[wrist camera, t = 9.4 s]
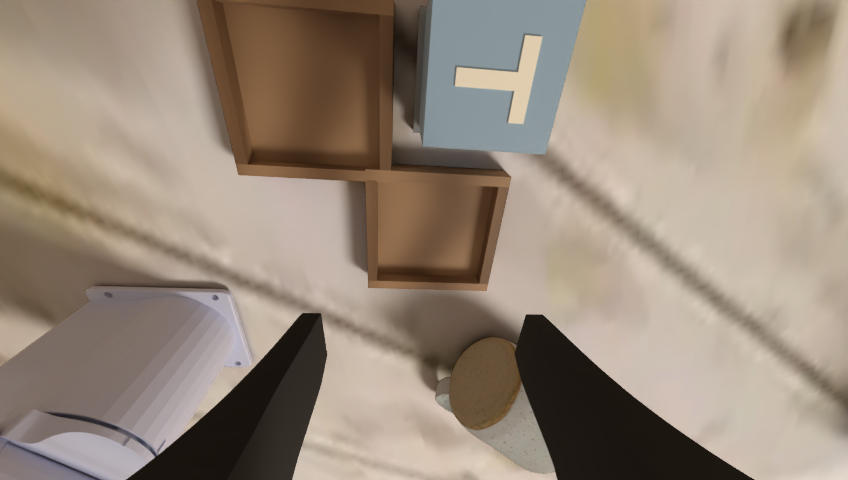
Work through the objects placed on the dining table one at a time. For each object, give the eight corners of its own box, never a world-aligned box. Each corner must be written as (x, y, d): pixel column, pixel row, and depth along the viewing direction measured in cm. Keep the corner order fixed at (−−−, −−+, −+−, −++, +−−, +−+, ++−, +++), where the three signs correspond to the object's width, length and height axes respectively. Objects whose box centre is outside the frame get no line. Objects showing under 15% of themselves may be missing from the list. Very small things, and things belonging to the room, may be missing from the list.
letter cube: (418, 125, 16) (422, 146, 12) (425, 9, 14) (434, -20, 9) (509, 131, 17) (545, 154, 12) (532, 19, 14) (588, -3, 10)
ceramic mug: (501, 313, 24) (535, 407, 18) (559, 357, 27) (606, 452, 21) (413, 376, 28) (413, 474, 21) (472, 409, 31) (488, 504, 24)
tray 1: (250, 167, 17) (238, 175, 16) (210, -14, 13) (191, -22, 12) (391, 175, 18) (390, 182, 17) (394, 4, 14) (393, -2, 13)
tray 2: (370, 275, 22) (368, 287, 20) (368, 162, 18) (365, 169, 16) (482, 278, 22) (486, 290, 21) (504, 170, 18) (511, 177, 17)
